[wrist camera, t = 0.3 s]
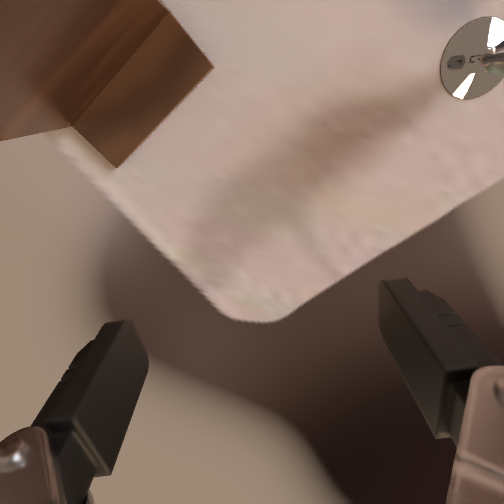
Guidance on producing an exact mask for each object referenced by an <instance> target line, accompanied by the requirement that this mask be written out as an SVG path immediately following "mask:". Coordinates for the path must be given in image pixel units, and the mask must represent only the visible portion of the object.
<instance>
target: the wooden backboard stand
mask: <svg viewBox="0 0 504 504" xmlns="http://www.w3.org/2000/svg"><path fill="white" fill-rule="evenodd" d="M213 69H214V66H213V64H212V63H211V62H210V61H209V59H208V58H207V57H206V56H205V54H204V53H203V52H202V51H201V49H200V48H199V47H198V46H197V44H196V43H195V42H194V41H193V39H192V38H191V37H190V36H189V34H188V33H187V32H186V31H185V29H184V28H183V27H182V26H181V24H180V23H179V22H178V21H177V19H176V18H175V17H174V16H173V14H172V13H171V12H170V11H169V9H168V8H167V7H166V6H165V4H164V3H163V2H162V1H161V0H0V141H3V140H8V139H13V138H18V137H23V136H27V135H32V134H37V133H42V132H46V131H51V130H56V129H61V128H65V127H70V126H73V127H74V128H75V129H76V130H77V131H78V132H79V133H80V134H81V135H82V136H83V137H84V138H85V139H86V140H87V141H88V142H89V143H90V144H92V145H93V146H94V147H95V148H96V149H97V150H98V151H99V152H100V153H101V154H102V155H103V156H104V157H105V158H106V159H107V160H108V161H109V162H110V163H112V164H113V165H114V166H115V167H116V168H118V167H119V166H121V165H122V164H123V163H124V162H125V161H126V159H127V158H128V157H129V156H130V155H131V154H132V153H133V152H134V151H135V150H136V149H137V148H138V147H139V146H140V145H141V144H142V143H143V142H144V141H145V140H146V139H147V138H148V136H149V135H150V134H151V133H152V132H153V131H154V130H155V129H156V128H157V127H158V126H159V125H160V124H161V123H162V122H163V121H164V120H165V119H166V118H167V117H168V116H169V115H170V113H171V112H172V111H173V110H174V109H175V108H176V107H177V106H178V105H179V104H180V103H181V102H182V101H183V100H184V99H185V98H186V97H187V96H188V95H189V94H190V93H191V92H192V91H193V89H194V88H195V87H196V86H197V85H198V84H199V83H200V82H201V81H202V80H203V79H204V78H205V77H206V76H207V75H208V74H209V73H210V72H211V71H212V70H213Z"/></svg>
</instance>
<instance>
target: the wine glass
mask: <svg viewBox="0 0 504 504" xmlns="http://www.w3.org/2000/svg"><path fill="white" fill-rule="evenodd" d="M503 78H504V21H502V20H501V19H498V18H495V17H482V18H479V19H475V20H473V21H471V22H469V23H468V24H466V25H465V26H463V27H462V28H461V29H460V30H459V31H458V32H457V33H456V34H455V35H454V36H453V38H452V39H451V40H450V42H449V44H448V45H447V47H446V49H445V52H444V54H443V58H442V62H441V79H442V82H443V85H444V87H445V88H446V90H447V91H448V92H449V93H450V94H451V95H453V96H455V97H457V98H460V99H473V98H477V97H480V96H482V95H484V94H486V93H488V92H489V91H491V90H492V89H493V88H494V87H495V86H497V85H498V84H499V82H500V81H501V80H502V79H503Z"/></svg>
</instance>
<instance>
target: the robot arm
mask: <svg viewBox="0 0 504 504" xmlns="http://www.w3.org/2000/svg"><path fill="white" fill-rule="evenodd" d="M378 320H379V327H380V331H381V335H382V337H383V340H384V342H385V343H386V345H387V347H388V349H389V351H390V353H391V355H392V357H393V359H394V361H395V362H396V364H397V366H398V368H399V370H400V372H401V374H402V376H403V378H404V380H405V381H406V383H407V385H408V387H409V389H410V391H411V393H412V395H413V397H414V398H415V400H416V402H417V404H418V406H419V408H420V410H421V412H422V414H423V416H424V417H425V419H426V421H427V423H428V425H429V427H430V429H431V431H432V433H433V435H434V436H435V438H436V439H439V438H447V437H452V439H453V441H454V443H455V444H456V446H457V452H456V456H455V460H454V466H453V470H452V475H451V480H450V485H449V490H448V495H447V500H446V504H504V365H503V364H502V363H501V362H500V361H499V359H497V357H496V356H495V355H494V354H493V353H492V352H491V351H490V350H489V349H488V347H487V346H486V345H485V344H484V343H483V342H482V341H481V340H480V339H479V338H478V337H477V335H476V334H475V333H474V332H473V331H472V330H471V329H470V328H469V327H468V325H467V324H466V325H465V324H464V321H463V320H462V319H461V318H460V317H459V316H458V314H455V311H454V310H453V309H452V308H451V307H450V306H449V305H448V303H447V302H446V301H445V300H444V299H442V298H440V297H439V296H437V295H435V294H433V293H431V292H430V291H428V290H425V291H419V292H418V290H417V289H416V288H415V287H414V286H413V284H412V283H411V282H410V281H409V280H408V278H406V277H400V278H394V279H387V280H381V281H379V284H378ZM148 366H149V360H148V355H147V352H146V350H145V347H144V345H143V343H142V340H141V338H140V336H139V334H138V332H137V330H136V327H135V325H134V323H133V321H132V320H130V319H126V320H120V321H114V322H108V323H105V324H104V325H103V326H102V328H101V330H100V331H99V333H98V334H97V336H96V338H95V340H91V341H90V342H89V343H88V344H87V345H86V346H85V347H84V348H83V349H81V350H80V351H79V352H78V353H77V355H76V356H75V358H74V359H73V361H72V362H71V364H70V366H69V369H68V370H66V372H65V373H64V375H63V377H62V378H61V381H60V382H59V383H58V384H57V386H56V387H55V389H54V390H53V392H52V394H51V395H50V397H49V398H48V400H47V401H46V403H45V405H44V406H43V408H42V409H41V411H40V412H39V414H38V415H37V417H36V419H35V420H34V421H33V423H32V425H31V426H30V427H26V428H23V429H20V430H18V431H16V432H14V433H13V434H11V435H10V436H8V437H6V438H5V439H4V440H2V441H1V442H0V504H95V502H94V498H93V495H92V493H91V491H90V490H89V488H90V485H91V482H92V480H93V477H101V476H109V475H111V474H112V471H113V468H114V465H115V463H116V460H117V457H118V454H119V451H120V448H121V446H122V443H123V440H124V437H125V434H126V431H127V429H128V426H129V423H130V420H131V417H132V415H133V412H134V409H135V406H136V404H137V401H138V398H139V395H140V392H141V389H142V387H143V384H144V381H145V378H146V375H147V372H148Z"/></svg>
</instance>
